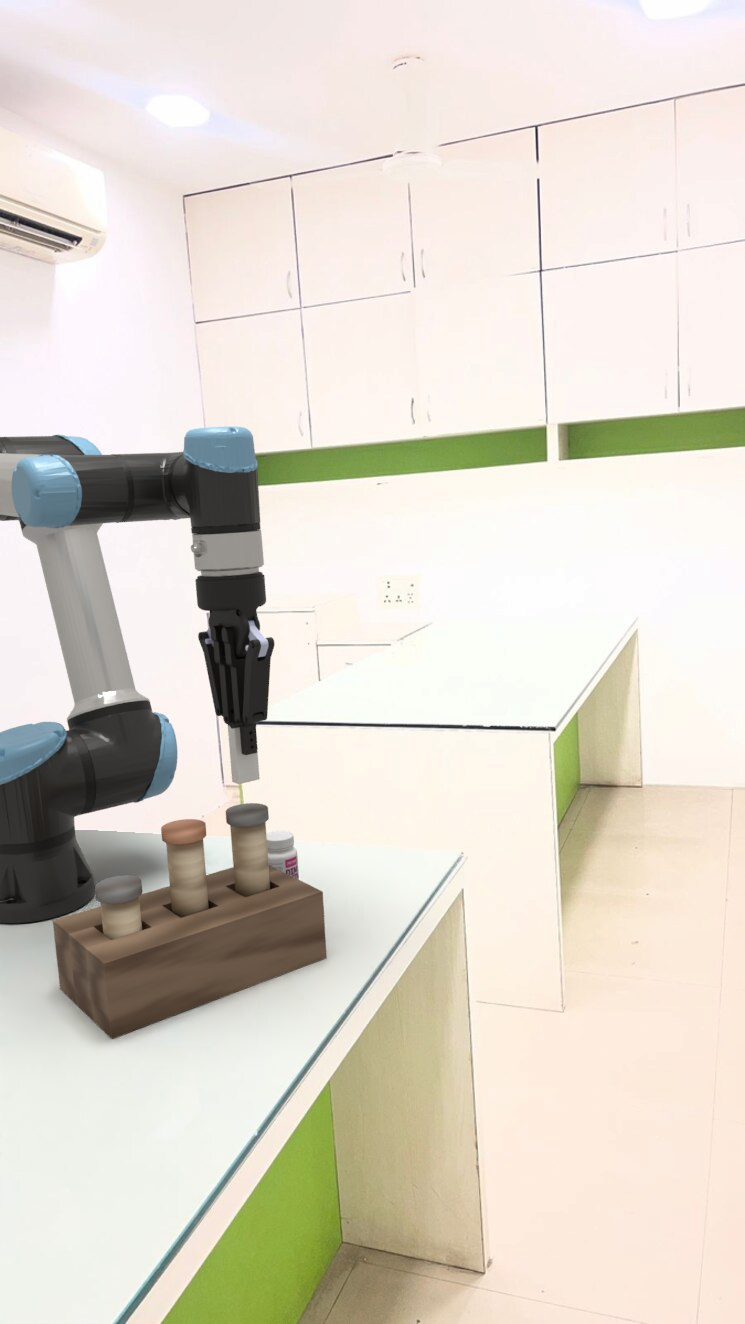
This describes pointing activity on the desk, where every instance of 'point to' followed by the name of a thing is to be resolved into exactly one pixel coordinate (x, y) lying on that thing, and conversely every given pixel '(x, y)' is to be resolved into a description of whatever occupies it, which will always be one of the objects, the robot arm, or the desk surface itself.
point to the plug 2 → (249, 847)
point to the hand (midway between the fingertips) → (245, 780)
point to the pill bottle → (282, 852)
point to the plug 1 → (120, 905)
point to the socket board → (188, 950)
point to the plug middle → (186, 865)
